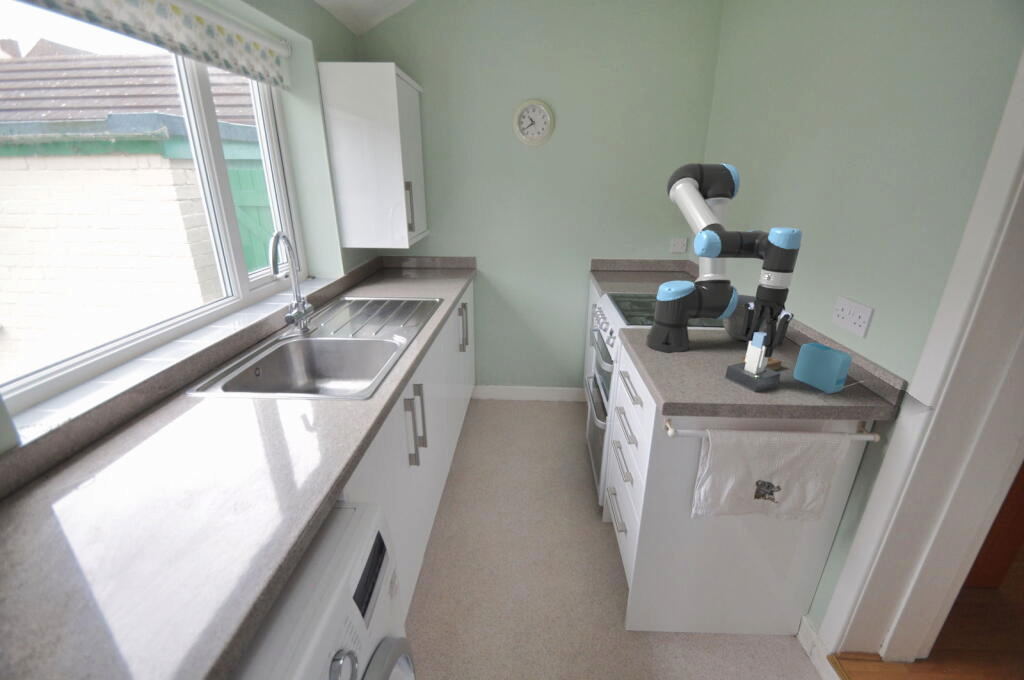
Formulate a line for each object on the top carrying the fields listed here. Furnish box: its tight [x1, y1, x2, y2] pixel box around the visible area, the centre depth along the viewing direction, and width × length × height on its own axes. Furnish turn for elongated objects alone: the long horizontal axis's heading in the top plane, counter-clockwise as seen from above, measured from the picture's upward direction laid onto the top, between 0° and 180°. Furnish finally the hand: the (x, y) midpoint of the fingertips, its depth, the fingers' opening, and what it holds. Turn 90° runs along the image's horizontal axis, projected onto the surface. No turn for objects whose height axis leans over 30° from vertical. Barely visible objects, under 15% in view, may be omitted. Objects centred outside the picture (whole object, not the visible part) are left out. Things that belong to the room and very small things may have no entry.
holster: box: [740, 355, 782, 371], centre depth 141 cm, size 8×8×3 cm
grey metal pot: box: [722, 294, 767, 342], centre depth 165 cm, size 18×18×15 cm
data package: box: [792, 341, 853, 395], centre depth 127 cm, size 12×4×12 cm, turn 22°
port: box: [724, 362, 781, 393], centre depth 129 cm, size 10×10×5 cm
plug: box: [745, 331, 767, 374], centre depth 126 cm, size 4×4×13 cm
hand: (755, 363), depth 127 cm, fingers closed on plug, 4 cm apart
